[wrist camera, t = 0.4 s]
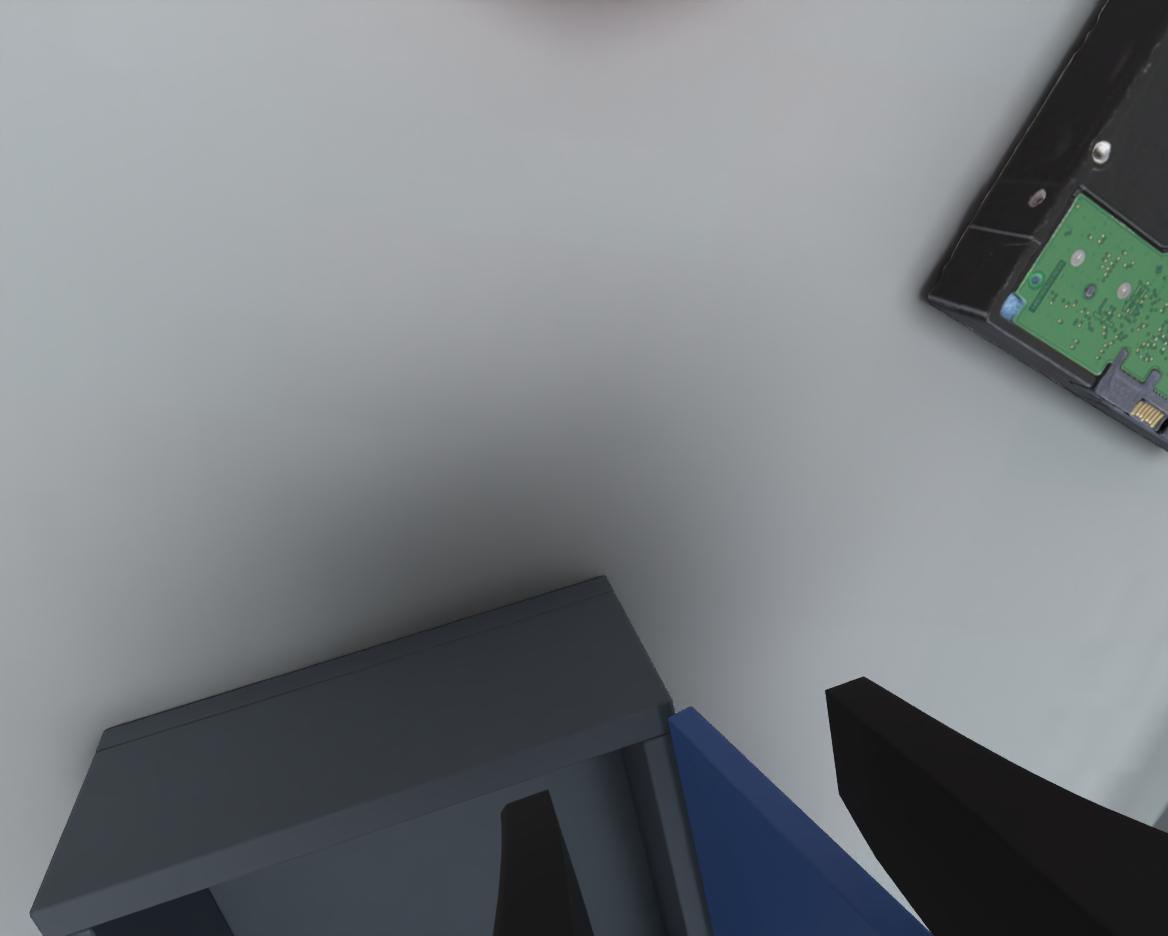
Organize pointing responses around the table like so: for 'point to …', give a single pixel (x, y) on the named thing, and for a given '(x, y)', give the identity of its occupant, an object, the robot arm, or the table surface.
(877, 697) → the robot arm
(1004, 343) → the disk drive
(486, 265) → the table surface
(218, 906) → the box
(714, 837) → the lid
